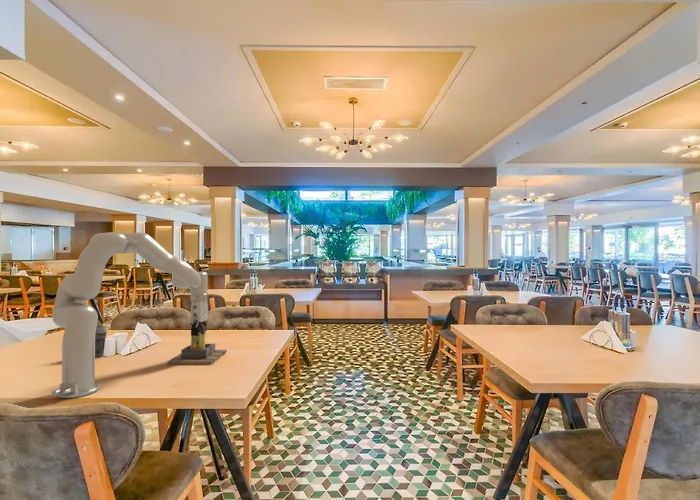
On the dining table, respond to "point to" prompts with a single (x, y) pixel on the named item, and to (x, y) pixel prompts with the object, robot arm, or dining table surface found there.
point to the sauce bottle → (199, 337)
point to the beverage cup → (100, 341)
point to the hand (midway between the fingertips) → (198, 333)
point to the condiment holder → (197, 356)
